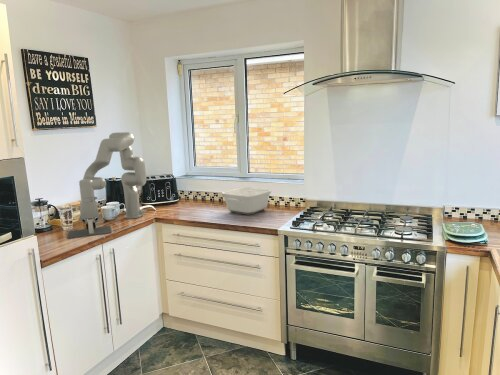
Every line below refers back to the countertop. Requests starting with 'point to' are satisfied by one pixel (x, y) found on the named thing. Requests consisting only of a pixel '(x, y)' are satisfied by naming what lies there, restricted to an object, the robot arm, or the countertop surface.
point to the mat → (86, 232)
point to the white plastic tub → (246, 200)
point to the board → (90, 225)
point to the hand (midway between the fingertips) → (91, 229)
